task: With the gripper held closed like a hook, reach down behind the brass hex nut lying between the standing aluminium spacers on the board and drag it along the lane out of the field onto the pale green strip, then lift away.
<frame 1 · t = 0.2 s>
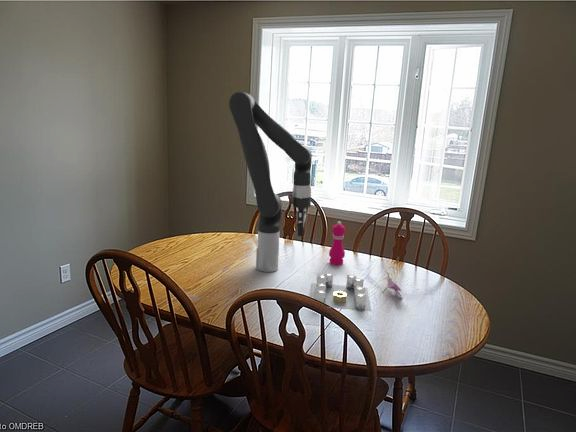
hand: (301, 233, 172), 17 cm above the table, tool pointing down, fingers open, 8 cm apart
nut: (339, 300, 149), point 1 cm above the table, touching board
pepper mill: (336, 263, 189), on the table
spacers: (339, 290, 151), on the board, point 4 cm above the table
lily: (391, 296, 157), on the table
board: (339, 305, 147), on the table
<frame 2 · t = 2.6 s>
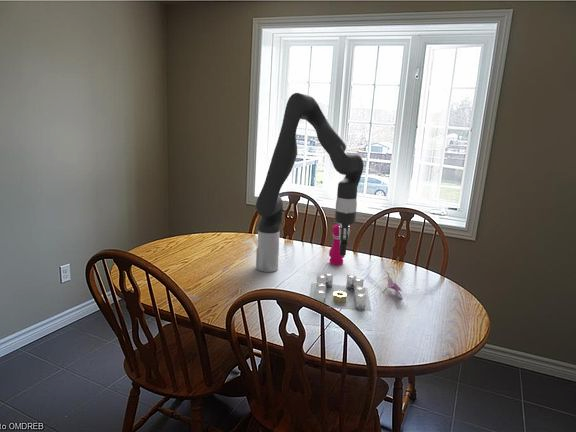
hand: (342, 254, 152), 16 cm above the table, tool pointing down, fingers closed
nothing on the table moved.
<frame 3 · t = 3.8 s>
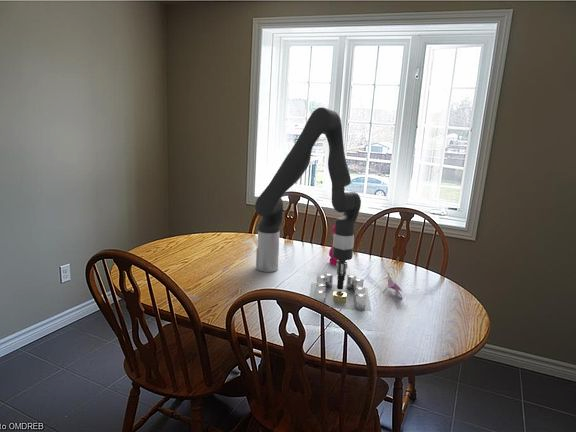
hand: (339, 288, 156), 2 cm above the table, tool pointing down, fingers closed
nothing on the table moved.
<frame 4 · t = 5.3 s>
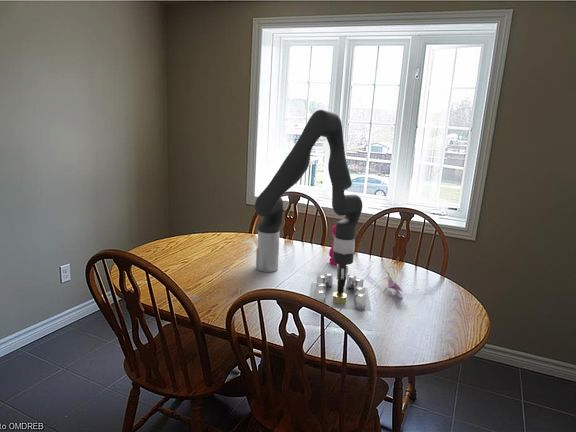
hand: (340, 293, 152), 2 cm above the table, tool pointing down, fingers closed
nut: (339, 301, 148), point 1 cm above the table, touching board, gripper
everything else where it was.
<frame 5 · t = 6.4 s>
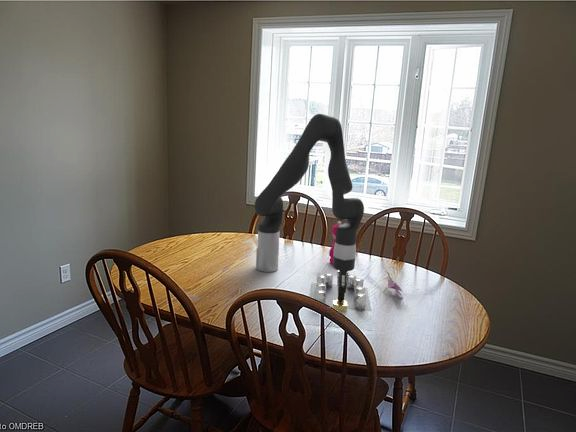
hand: (340, 300, 145), 2 cm above the table, tool pointing down, fingers closed
nut: (339, 309, 142), point 1 cm above the table, touching gripper
everything else where it was.
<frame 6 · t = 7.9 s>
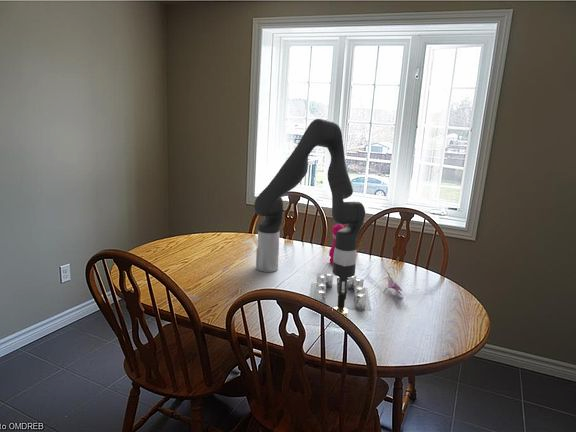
hand: (340, 307, 140), 2 cm above the table, tool pointing down, fingers closed
nut: (339, 316, 137), point 1 cm above the table, touching board, gripper
everything else where it was.
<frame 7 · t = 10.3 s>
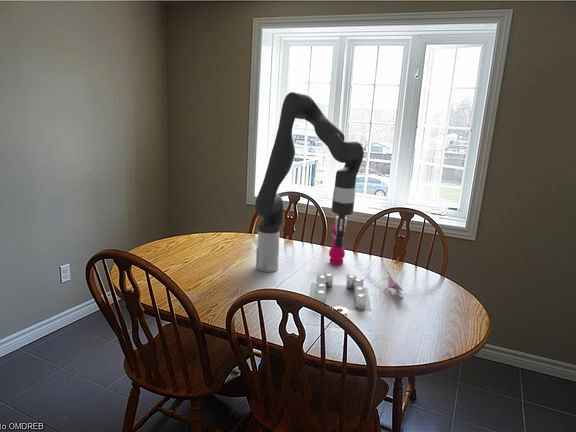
hand: (338, 246, 146), 21 cm above the table, tool pointing down, fingers closed
nut: (339, 316, 137), point 1 cm above the table, touching board
everything else where it was.
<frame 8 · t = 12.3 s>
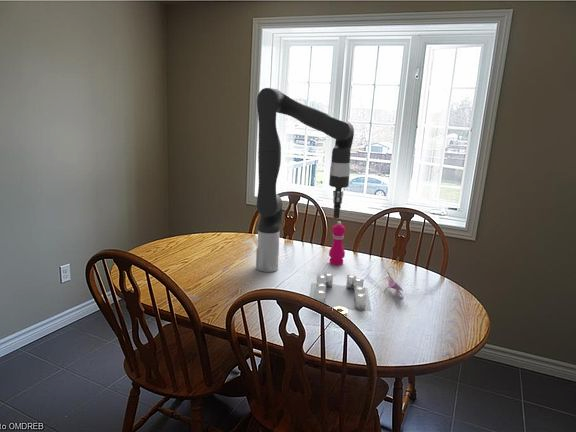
hand: (336, 217, 162), 27 cm above the table, tool pointing down, fingers closed
nothing on the table moved.
at the end: nut inside the target area (0.2 cm from its centre), point 0.9 cm above the table; nut moved 12.6 cm from its start; the gripper is holding nothing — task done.
